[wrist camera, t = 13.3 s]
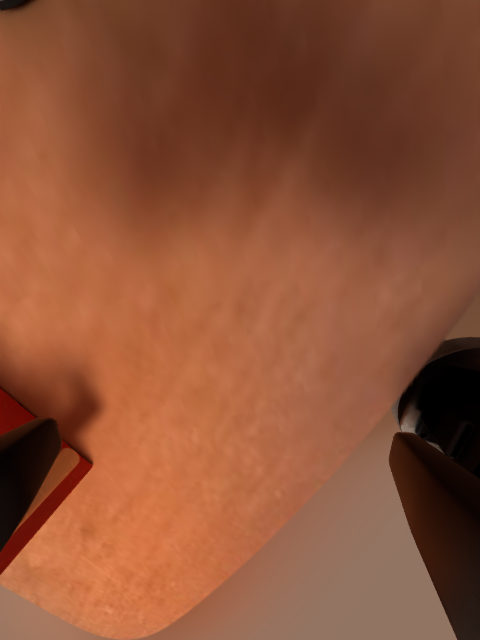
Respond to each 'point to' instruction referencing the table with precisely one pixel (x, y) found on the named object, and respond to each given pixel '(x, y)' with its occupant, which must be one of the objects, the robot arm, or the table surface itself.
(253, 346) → the table surface
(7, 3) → the beverage can
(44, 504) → the door
